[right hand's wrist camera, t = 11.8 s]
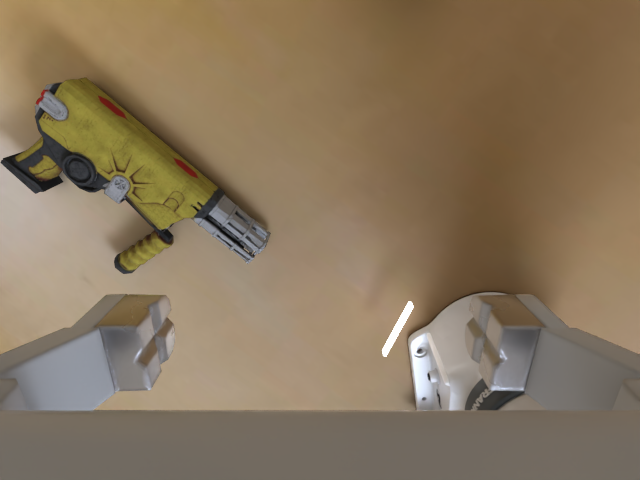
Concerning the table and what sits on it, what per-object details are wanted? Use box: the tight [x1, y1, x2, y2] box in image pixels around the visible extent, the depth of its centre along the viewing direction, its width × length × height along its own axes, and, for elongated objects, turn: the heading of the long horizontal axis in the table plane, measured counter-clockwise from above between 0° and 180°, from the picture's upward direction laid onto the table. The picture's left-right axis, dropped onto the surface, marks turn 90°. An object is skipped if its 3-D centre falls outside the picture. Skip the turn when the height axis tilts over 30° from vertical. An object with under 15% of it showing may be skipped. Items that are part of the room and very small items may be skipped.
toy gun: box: [1, 78, 270, 274], centre depth 39 cm, size 5×24×15 cm
